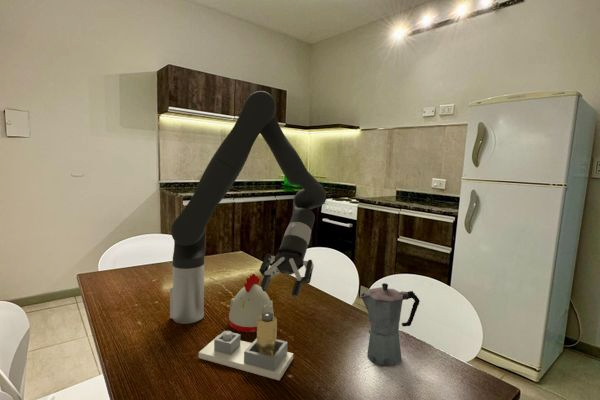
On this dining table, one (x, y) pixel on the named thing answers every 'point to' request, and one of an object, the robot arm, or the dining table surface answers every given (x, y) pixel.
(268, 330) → the gold bottle
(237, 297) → the kitchen timer
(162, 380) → the dining table surface
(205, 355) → the white tray
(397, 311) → the moka pot
